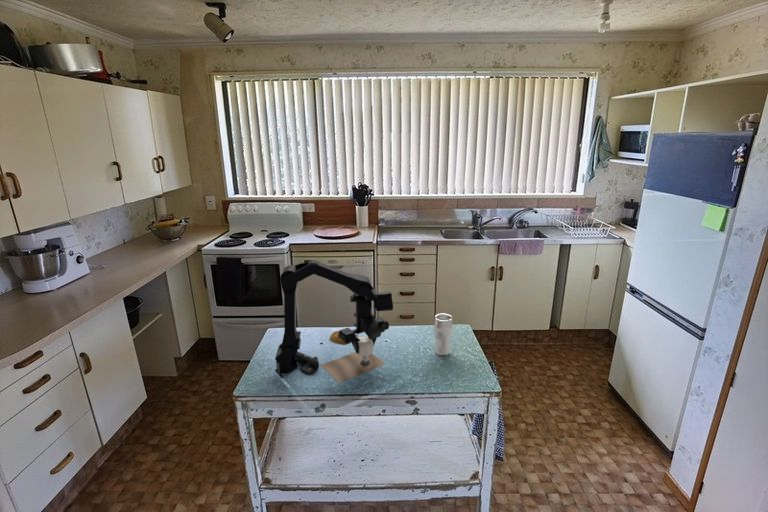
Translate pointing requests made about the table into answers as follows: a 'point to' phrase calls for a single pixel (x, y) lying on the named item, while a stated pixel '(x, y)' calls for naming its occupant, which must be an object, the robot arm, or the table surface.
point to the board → (350, 366)
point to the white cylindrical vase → (442, 333)
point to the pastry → (337, 338)
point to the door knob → (365, 361)
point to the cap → (365, 346)
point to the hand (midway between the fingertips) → (364, 350)
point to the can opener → (307, 363)
